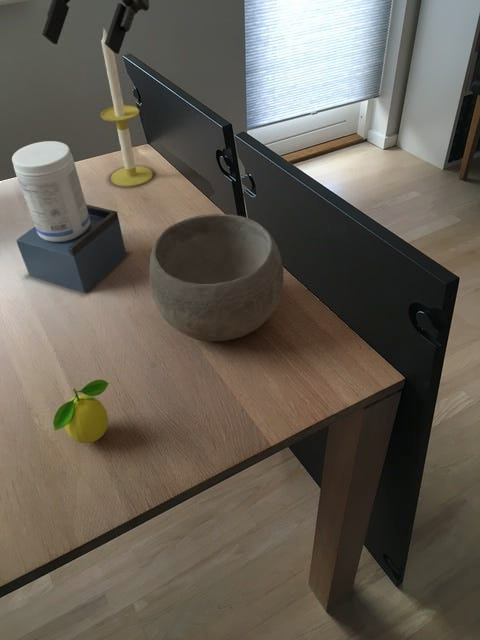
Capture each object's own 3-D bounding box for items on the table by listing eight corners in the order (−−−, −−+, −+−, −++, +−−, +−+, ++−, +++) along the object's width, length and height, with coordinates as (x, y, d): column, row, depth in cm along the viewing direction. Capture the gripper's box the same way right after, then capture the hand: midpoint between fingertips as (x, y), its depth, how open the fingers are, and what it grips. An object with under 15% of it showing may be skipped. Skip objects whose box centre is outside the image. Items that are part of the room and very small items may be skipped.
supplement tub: (67, 210, 102) (45, 135, 92) (102, 224, 98) (83, 147, 88) (26, 234, 97) (-2, 157, 87) (61, 250, 92) (36, 171, 82)
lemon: (118, 415, 75) (103, 366, 69) (116, 450, 71) (100, 402, 64) (70, 421, 75) (50, 372, 68) (65, 456, 71) (43, 408, 64)
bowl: (178, 380, 80) (164, 303, 70) (144, 298, 94) (128, 225, 84) (304, 340, 85) (308, 263, 75) (253, 269, 100) (251, 196, 90)
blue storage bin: (29, 275, 101) (13, 232, 94) (73, 240, 109) (61, 198, 103) (84, 293, 96) (71, 248, 90) (126, 254, 105) (117, 211, 98)
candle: (155, 183, 126) (131, 30, 104) (112, 189, 125) (78, 35, 103) (150, 164, 133) (126, 18, 112) (109, 170, 132) (77, 23, 110)
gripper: (197, -63, 85) (153, 66, 85) (80, -67, 95) (41, 48, 95) (173, -102, 78) (125, 38, 78) (50, -102, 88) (8, 22, 89)
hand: (79, 44), depth 87 cm, fingers open, 13 cm apart
